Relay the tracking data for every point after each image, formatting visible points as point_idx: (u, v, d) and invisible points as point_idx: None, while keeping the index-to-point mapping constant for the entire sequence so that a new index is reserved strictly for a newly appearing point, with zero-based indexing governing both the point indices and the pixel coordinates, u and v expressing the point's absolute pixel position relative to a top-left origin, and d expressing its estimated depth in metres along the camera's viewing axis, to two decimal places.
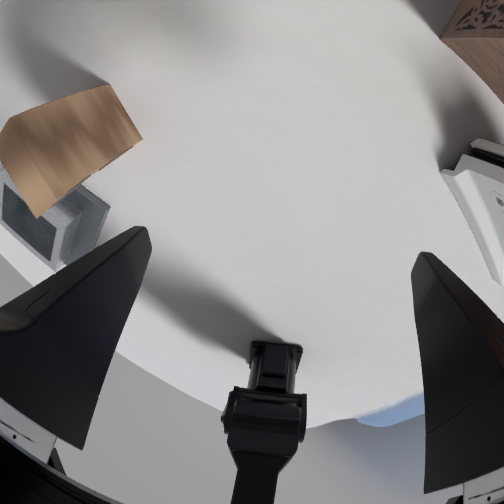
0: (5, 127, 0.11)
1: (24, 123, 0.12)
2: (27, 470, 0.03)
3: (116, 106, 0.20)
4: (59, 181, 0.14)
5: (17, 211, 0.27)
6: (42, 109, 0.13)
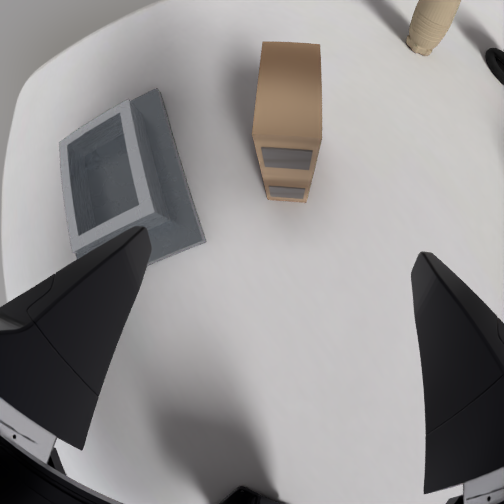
0: (304, 44, 0.12)
1: None
2: (27, 470, 0.03)
3: None
4: None
5: (82, 159, 0.24)
6: None
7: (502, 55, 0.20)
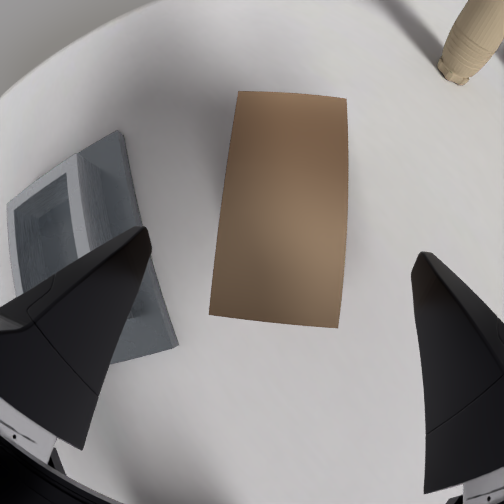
0: (318, 99, 0.07)
1: None
2: (27, 470, 0.03)
3: None
4: None
5: (35, 223, 0.19)
6: None
7: None
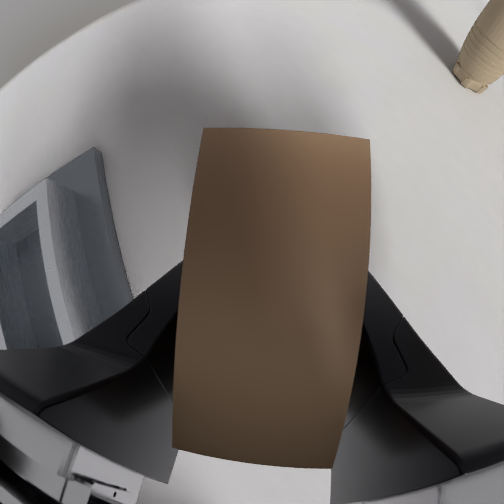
0: (326, 140, 0.05)
1: None
2: None
3: None
4: None
5: (13, 250, 0.16)
6: None
7: None
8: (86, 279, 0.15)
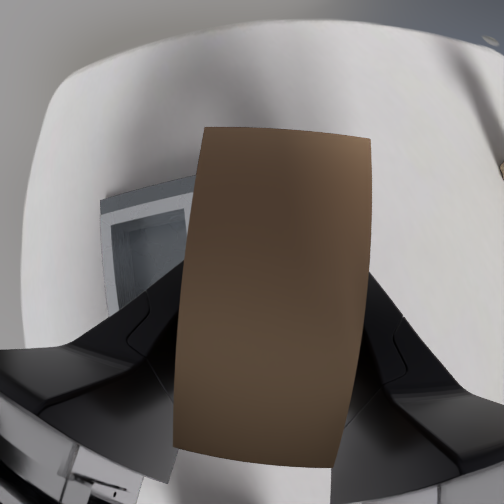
0: (327, 139, 0.05)
1: None
2: None
3: None
4: None
5: (127, 238, 0.23)
6: None
7: None
8: None
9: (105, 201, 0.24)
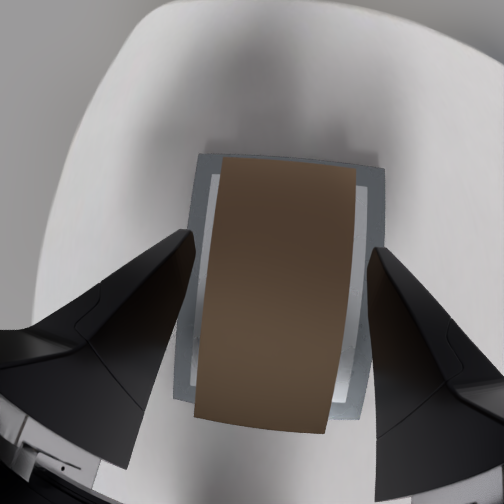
0: (321, 169, 0.06)
1: None
2: None
3: None
4: None
5: None
6: None
7: None
8: None
9: (206, 157, 0.18)
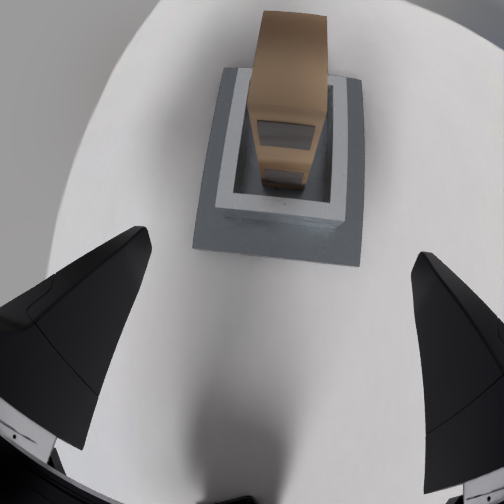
0: (310, 15, 0.10)
1: None
2: (27, 470, 0.03)
3: None
4: None
5: None
6: None
7: None
8: None
9: (230, 69, 0.22)
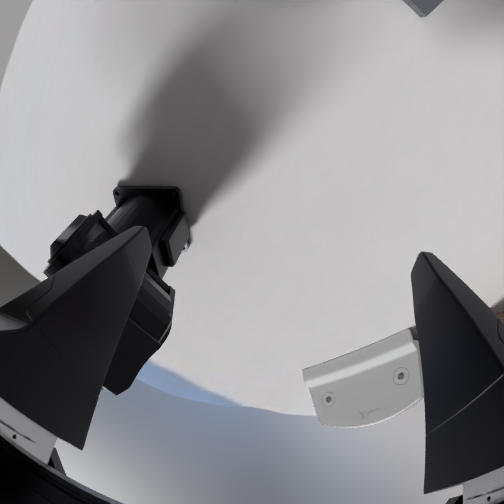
0: None
1: None
2: (27, 470, 0.03)
3: None
4: None
5: None
6: None
7: None
8: None
9: None
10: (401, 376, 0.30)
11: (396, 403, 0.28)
